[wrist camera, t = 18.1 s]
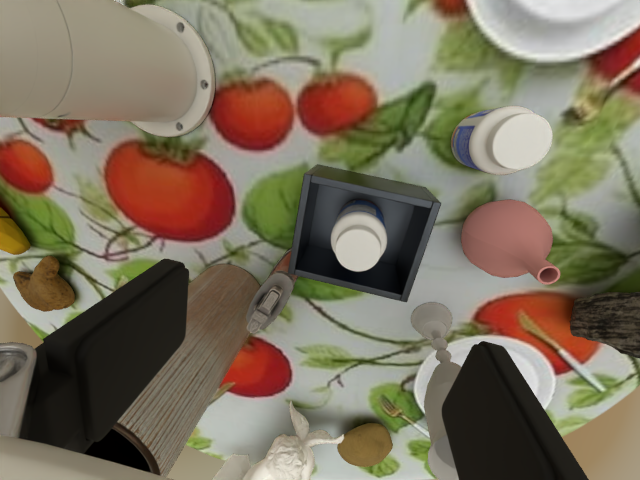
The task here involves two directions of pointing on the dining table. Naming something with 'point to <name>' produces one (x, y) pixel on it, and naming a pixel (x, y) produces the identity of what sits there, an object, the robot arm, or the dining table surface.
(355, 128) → the dining table surface
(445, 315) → the chalice
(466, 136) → the pill bottle
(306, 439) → the angel figurine
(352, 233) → the pill bottle
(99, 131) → the dining table surface
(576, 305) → the brown tree bark stump
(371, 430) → the potato
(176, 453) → the planter
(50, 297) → the ginger root
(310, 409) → the dining table surface
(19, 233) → the torch
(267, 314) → the lighter
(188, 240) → the dining table surface
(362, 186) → the tub
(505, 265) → the pink vase
